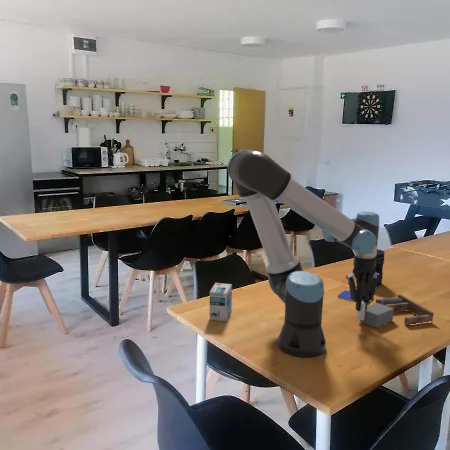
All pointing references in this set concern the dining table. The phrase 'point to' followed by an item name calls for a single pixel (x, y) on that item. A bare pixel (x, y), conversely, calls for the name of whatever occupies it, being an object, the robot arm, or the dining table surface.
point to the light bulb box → (220, 301)
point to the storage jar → (379, 265)
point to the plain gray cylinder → (391, 301)
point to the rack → (408, 304)
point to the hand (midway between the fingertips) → (360, 318)
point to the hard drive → (346, 295)
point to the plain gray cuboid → (378, 315)
